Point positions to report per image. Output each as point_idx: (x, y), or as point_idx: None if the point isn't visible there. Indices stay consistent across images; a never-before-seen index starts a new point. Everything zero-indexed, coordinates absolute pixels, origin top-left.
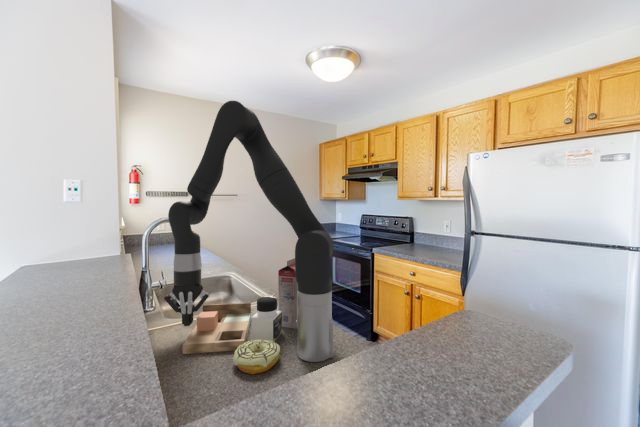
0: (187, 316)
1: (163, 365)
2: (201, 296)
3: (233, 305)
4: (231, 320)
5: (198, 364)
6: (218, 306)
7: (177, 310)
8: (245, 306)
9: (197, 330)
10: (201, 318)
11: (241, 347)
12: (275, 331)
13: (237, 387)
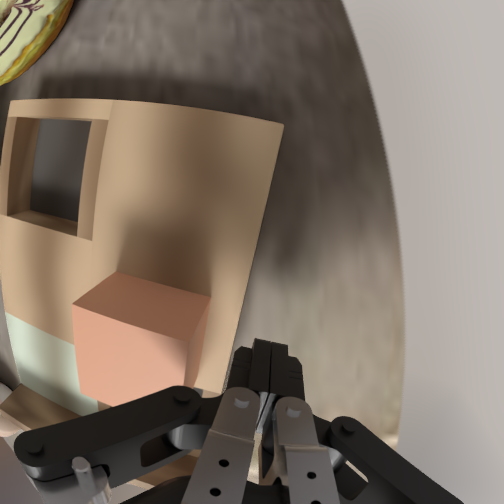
0: (262, 378)
1: (357, 58)
2: (93, 485)
3: None
4: (63, 355)
5: (203, 15)
6: None
7: (345, 425)
8: (20, 410)
9: (206, 298)
10: (156, 328)
11: (29, 3)
12: None
13: None
